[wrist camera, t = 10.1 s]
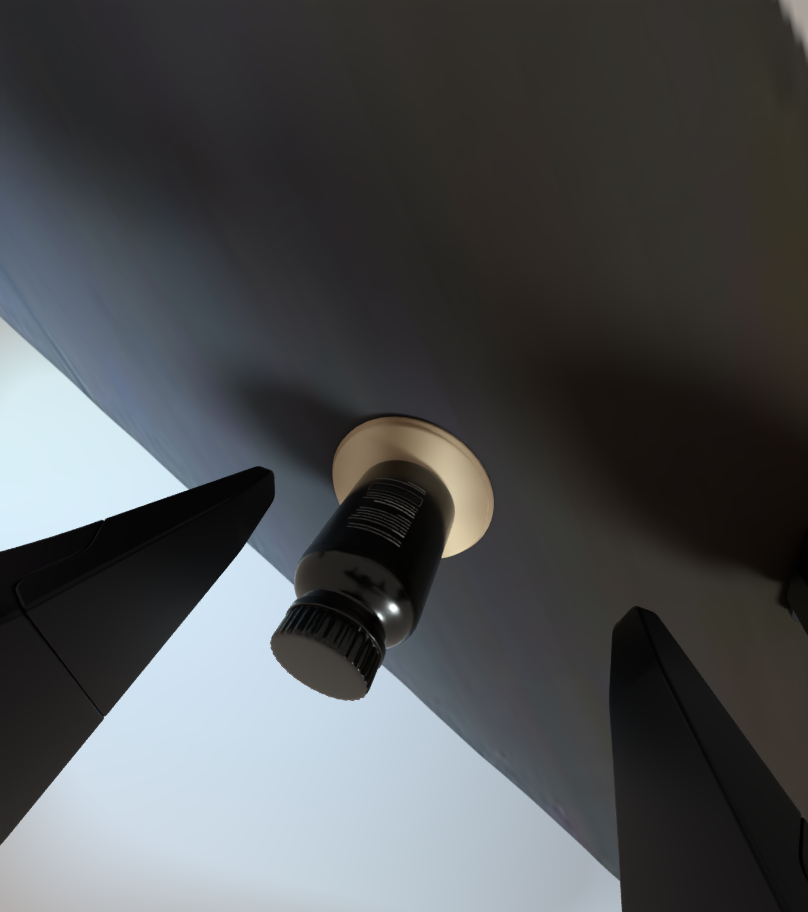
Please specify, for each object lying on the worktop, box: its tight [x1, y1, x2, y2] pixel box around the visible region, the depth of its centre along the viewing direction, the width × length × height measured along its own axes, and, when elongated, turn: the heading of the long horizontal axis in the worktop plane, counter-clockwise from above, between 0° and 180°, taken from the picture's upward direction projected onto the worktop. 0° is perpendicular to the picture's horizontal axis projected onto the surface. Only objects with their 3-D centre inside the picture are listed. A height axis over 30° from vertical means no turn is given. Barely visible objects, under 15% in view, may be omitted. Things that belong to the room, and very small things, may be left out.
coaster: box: [332, 416, 494, 558], centre depth 26 cm, size 12×12×1 cm
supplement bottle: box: [270, 460, 455, 701], centre depth 21 cm, size 7×7×12 cm
